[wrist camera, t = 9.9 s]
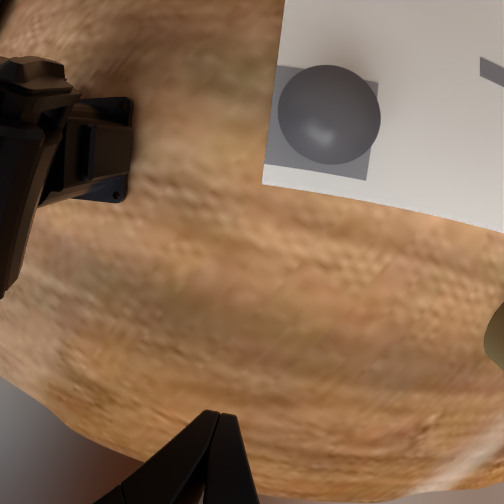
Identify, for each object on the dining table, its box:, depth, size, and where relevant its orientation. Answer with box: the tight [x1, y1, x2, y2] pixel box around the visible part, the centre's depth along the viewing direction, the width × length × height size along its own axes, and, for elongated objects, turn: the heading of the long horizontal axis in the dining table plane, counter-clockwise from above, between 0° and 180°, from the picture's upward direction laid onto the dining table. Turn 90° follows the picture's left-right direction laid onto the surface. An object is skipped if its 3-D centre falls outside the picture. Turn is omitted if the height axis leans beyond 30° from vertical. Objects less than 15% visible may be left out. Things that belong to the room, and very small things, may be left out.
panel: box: [262, 0, 504, 233], centre depth 13 cm, size 19×18×3 cm
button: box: [278, 65, 381, 165], centre depth 13 cm, size 4×4×3 cm
